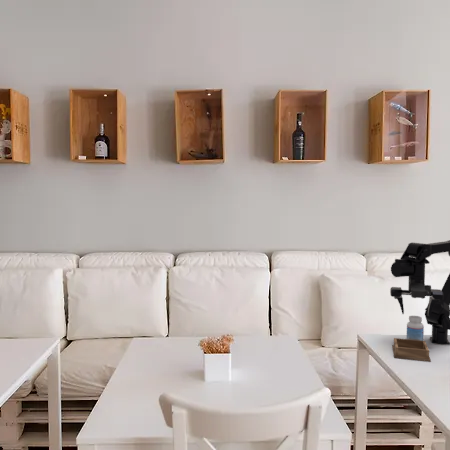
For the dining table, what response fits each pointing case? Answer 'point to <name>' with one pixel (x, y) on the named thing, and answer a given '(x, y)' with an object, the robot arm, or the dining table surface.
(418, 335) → the pill bottle
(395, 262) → the robot arm
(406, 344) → the walnut socket
